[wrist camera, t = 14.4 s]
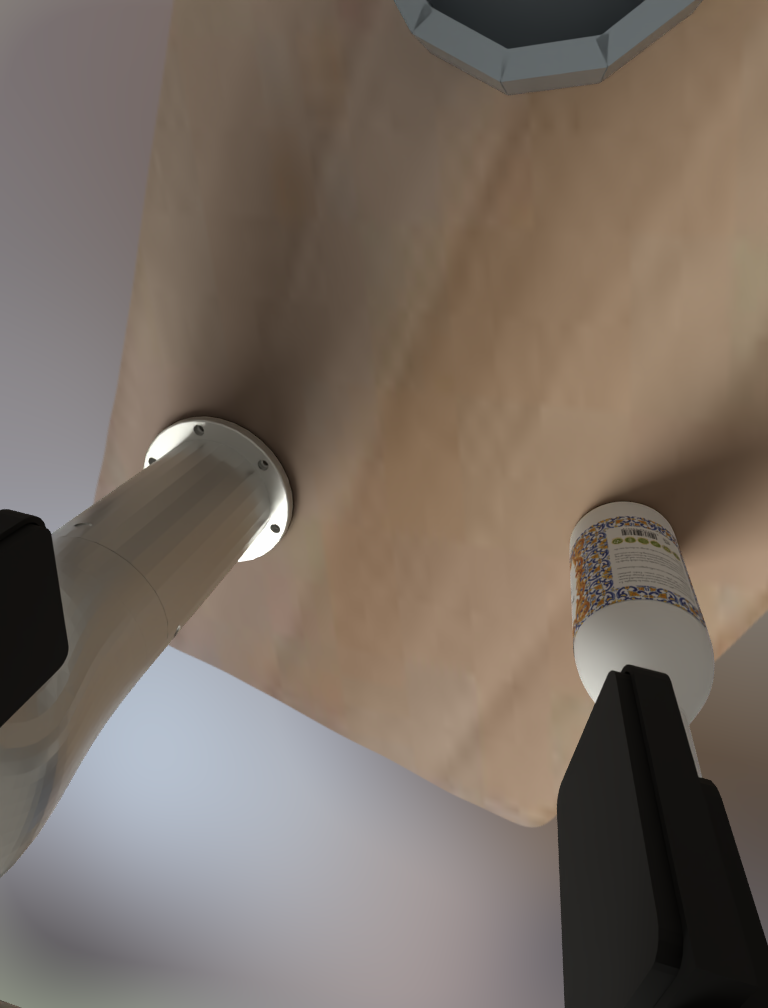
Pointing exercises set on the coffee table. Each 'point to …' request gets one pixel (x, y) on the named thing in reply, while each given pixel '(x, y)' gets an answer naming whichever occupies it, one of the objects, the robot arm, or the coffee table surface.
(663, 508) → the coffee table surface
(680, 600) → the bath foam
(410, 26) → the bowl
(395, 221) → the coffee table surface
